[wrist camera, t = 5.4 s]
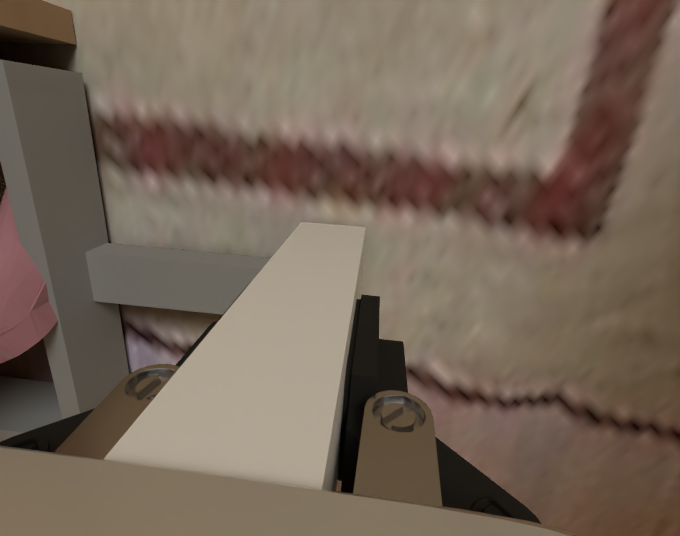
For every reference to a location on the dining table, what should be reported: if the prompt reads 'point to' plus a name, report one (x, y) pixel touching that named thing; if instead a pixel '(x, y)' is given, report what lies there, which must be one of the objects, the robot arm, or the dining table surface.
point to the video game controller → (20, 292)
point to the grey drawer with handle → (179, 294)
